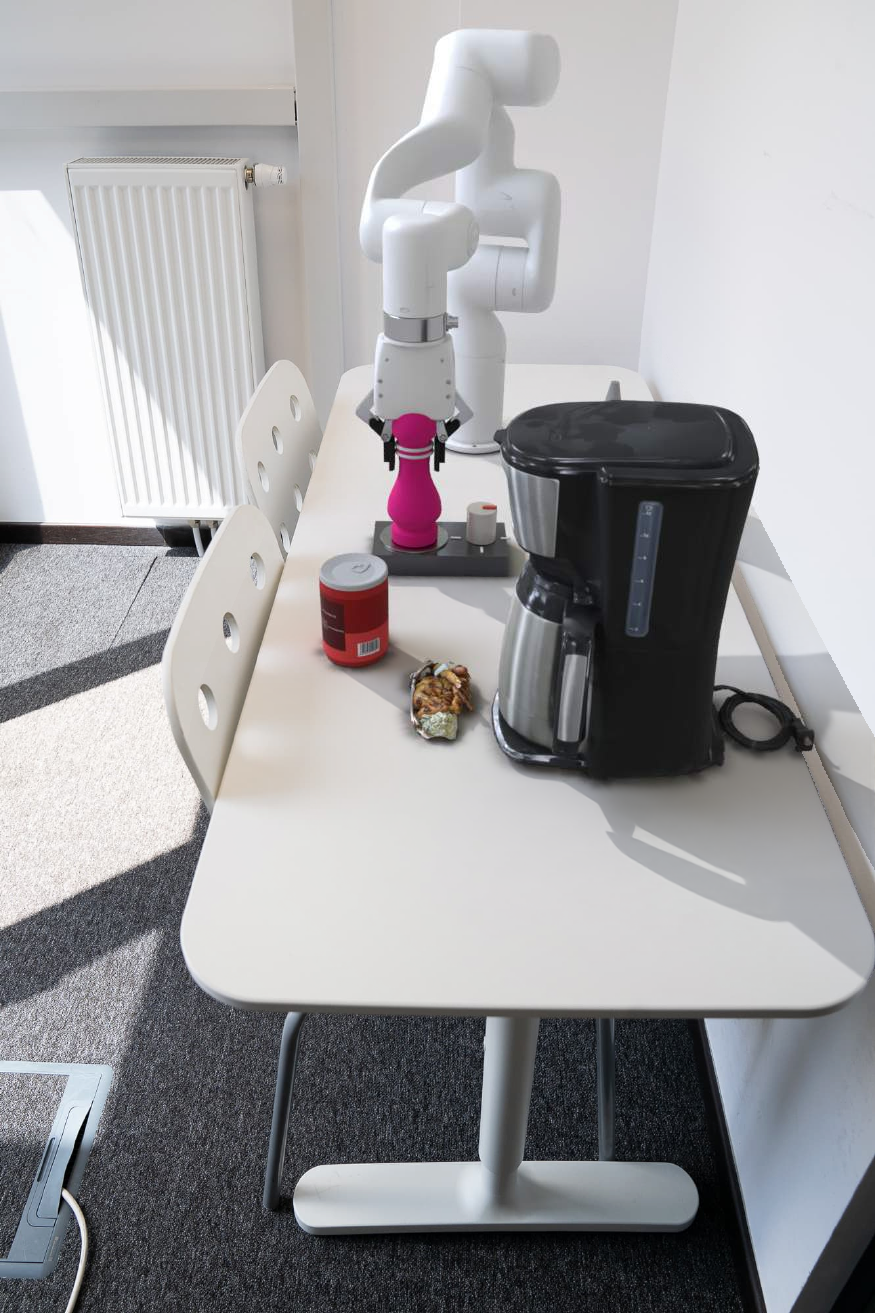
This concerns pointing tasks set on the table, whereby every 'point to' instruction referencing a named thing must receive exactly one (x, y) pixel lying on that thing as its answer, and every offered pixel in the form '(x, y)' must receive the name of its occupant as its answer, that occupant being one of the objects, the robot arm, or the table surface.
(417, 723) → the foil-wrapped kebab
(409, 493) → the pepper mill
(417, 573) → the hot plate
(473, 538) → the hob knob
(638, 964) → the table surface
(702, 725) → the coffee maker
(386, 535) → the burner plate
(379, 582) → the canned food
